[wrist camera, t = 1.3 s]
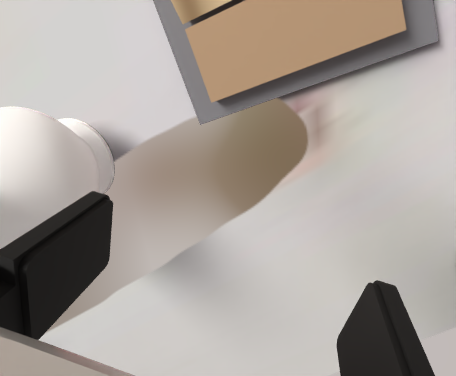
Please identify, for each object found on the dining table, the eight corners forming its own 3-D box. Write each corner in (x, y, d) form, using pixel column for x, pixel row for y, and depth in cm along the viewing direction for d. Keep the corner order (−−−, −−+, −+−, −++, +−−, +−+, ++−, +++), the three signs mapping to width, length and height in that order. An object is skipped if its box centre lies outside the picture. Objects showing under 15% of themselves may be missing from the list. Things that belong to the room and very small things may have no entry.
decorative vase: (144, 131, 41) (-55, 211, 19) (116, 231, 49) (-48, 373, 26) (31, 78, 42) (-284, 92, 20) (22, 183, 50) (-213, 280, 27)
